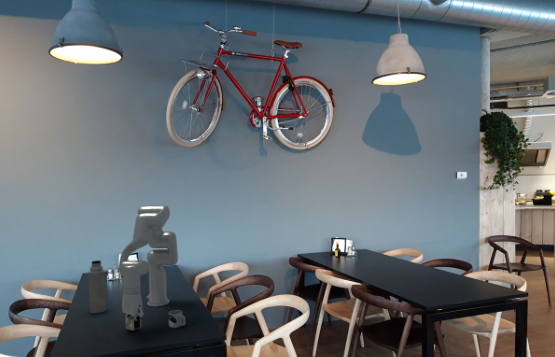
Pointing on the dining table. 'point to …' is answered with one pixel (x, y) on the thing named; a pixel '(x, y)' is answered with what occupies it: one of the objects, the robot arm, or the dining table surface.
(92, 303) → the thermos bottle
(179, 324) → the mug
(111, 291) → the dining table surface
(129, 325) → the birch cube
